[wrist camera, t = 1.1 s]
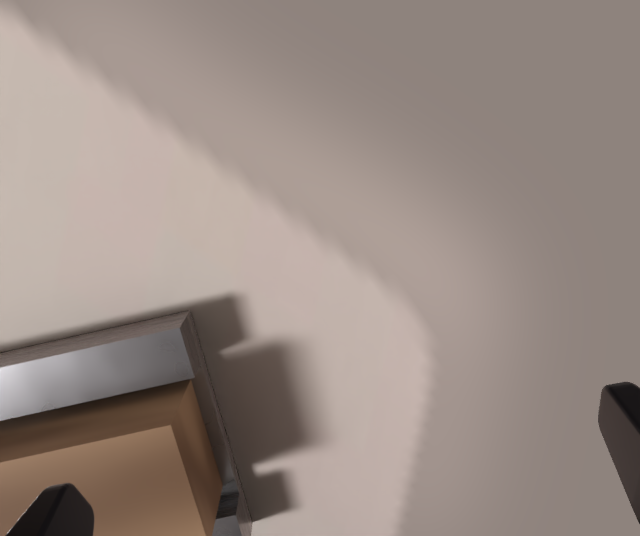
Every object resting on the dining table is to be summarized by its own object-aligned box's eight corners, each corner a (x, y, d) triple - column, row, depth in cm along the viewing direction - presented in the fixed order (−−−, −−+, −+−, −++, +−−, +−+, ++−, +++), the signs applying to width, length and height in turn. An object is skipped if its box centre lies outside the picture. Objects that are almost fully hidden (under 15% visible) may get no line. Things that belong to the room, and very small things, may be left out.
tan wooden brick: (222, 485, 21) (209, 546, 18) (41, 524, 21) (-4, 593, 18) (190, 378, 20) (170, 425, 17) (0, 421, 20) (-56, 474, 17)
